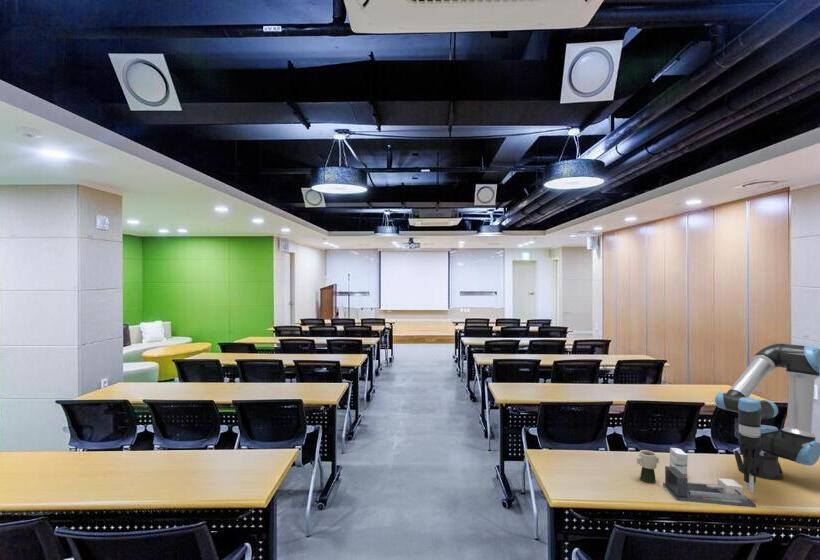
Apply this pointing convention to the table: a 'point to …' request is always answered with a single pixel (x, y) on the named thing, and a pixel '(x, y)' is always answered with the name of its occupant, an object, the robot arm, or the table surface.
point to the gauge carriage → (727, 487)
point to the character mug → (647, 465)
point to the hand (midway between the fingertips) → (749, 490)
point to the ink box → (678, 460)
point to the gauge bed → (699, 491)
